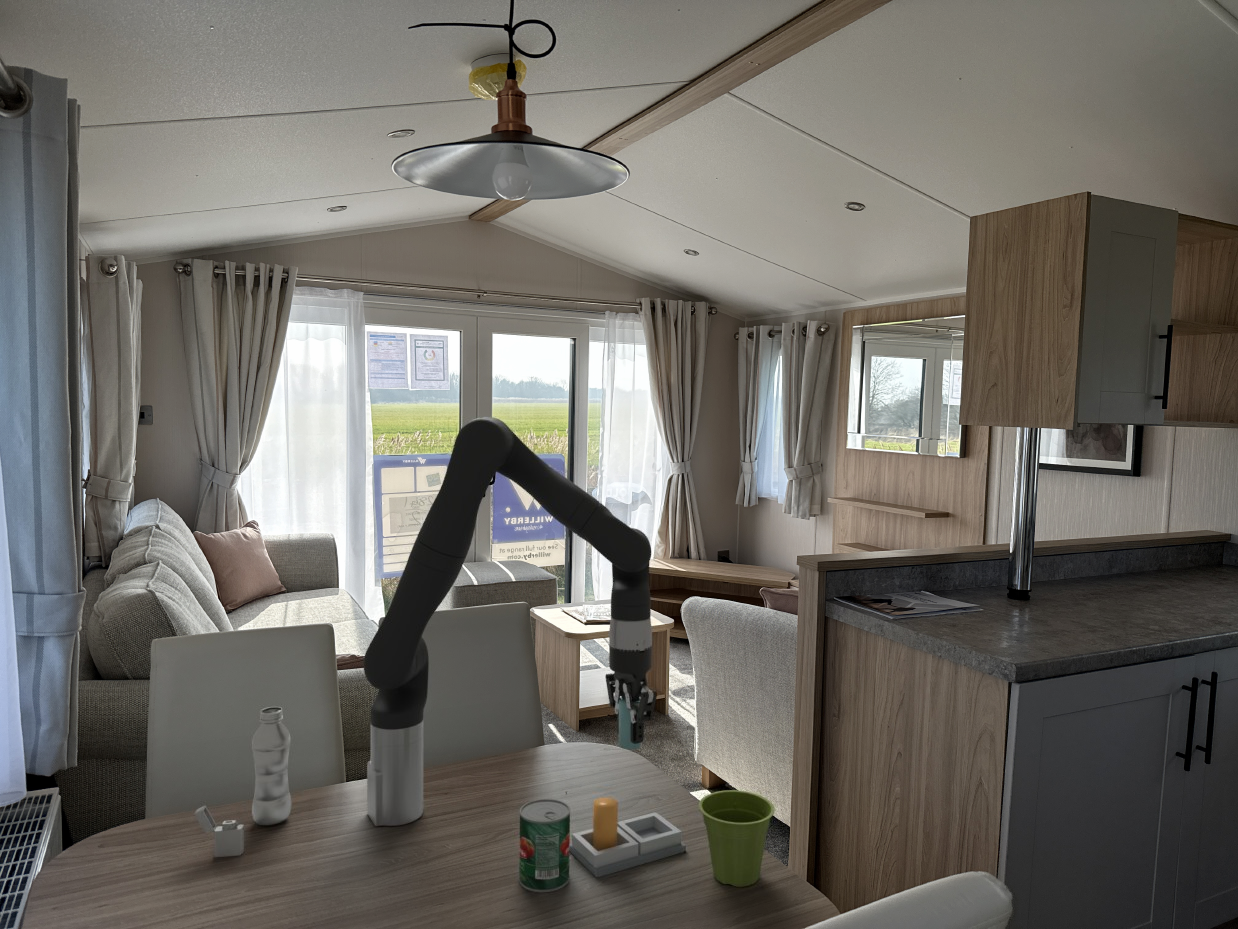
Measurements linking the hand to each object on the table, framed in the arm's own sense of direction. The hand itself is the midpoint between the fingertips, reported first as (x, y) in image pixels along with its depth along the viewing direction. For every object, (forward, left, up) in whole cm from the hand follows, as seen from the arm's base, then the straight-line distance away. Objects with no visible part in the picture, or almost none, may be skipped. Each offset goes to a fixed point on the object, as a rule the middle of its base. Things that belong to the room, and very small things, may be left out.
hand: (630, 738), depth 147 cm
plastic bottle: (-55, +31, -16) cm, 65 cm away
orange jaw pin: (-9, -8, -15) cm, 19 cm away
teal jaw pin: (0, 0, -1) cm, 1 cm away
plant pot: (+6, -23, -16) cm, 28 cm away
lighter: (-64, +23, -16) cm, 70 cm away
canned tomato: (-21, -9, -16) cm, 28 cm away
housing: (-5, -8, -16) cm, 18 cm away
